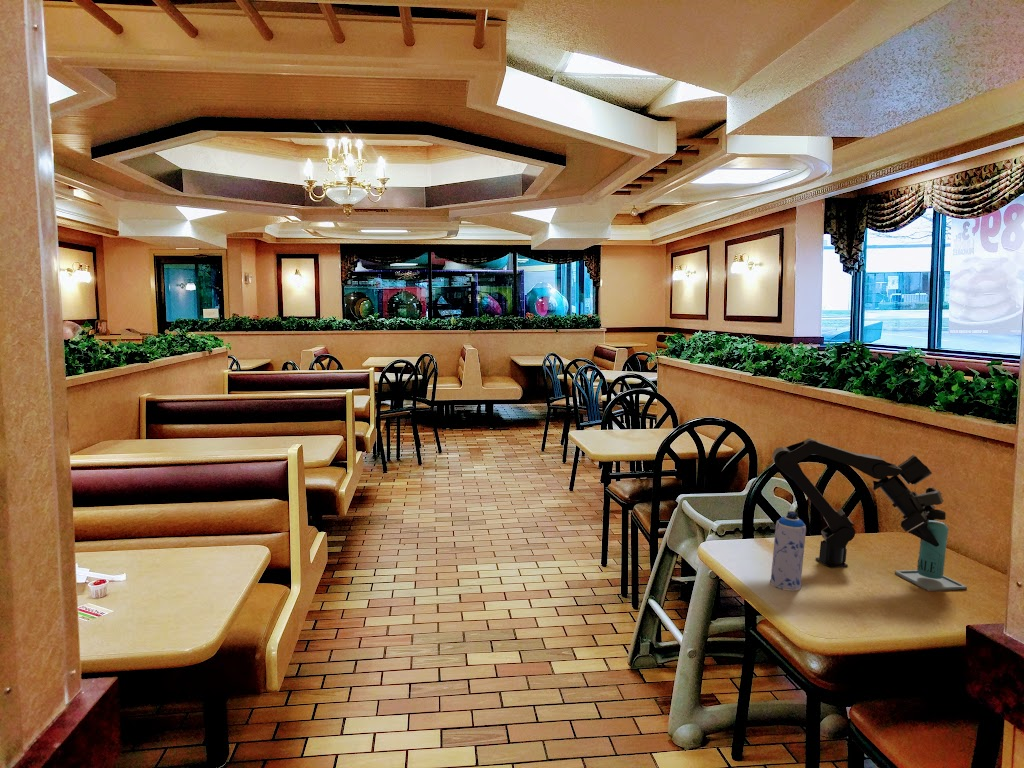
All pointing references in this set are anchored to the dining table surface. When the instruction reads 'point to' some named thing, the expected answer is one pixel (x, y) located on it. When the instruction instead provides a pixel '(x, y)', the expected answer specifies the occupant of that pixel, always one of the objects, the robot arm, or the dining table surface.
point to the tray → (930, 581)
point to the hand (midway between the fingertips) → (940, 542)
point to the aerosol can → (788, 552)
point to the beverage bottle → (934, 548)
